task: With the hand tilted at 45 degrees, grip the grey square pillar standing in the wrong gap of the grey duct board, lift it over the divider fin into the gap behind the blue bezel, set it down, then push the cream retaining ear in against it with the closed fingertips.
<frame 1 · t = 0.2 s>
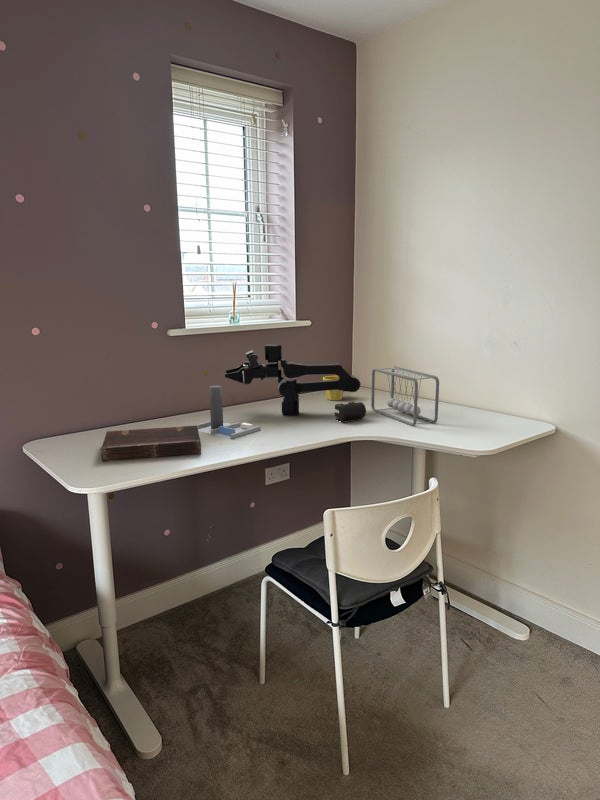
hand: (225, 373, 222), 17 cm above the table, tool horizontal, fingers open, 9 cm apart
duct board: (226, 431, 202), on the table
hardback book: (153, 451, 182), on the table
black cylinder: (349, 421, 217), on the table
newton's cradle: (402, 417, 221), on the table
plant pot: (334, 399, 255), on the table
grey square pillar: (217, 427, 205), point 1 cm above the table, touching duct board
ear clip: (246, 425, 203), point 2 cm above the table, slide at 0.0 cm
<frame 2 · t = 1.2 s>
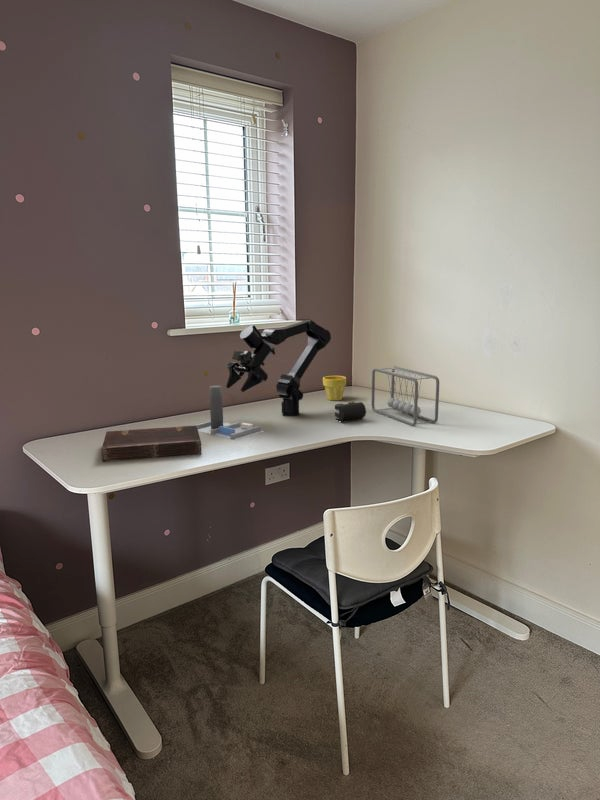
hand: (234, 389, 207), 14 cm above the table, tool tilted 45°, fingers open, 9 cm apart
nothing on the table moved.
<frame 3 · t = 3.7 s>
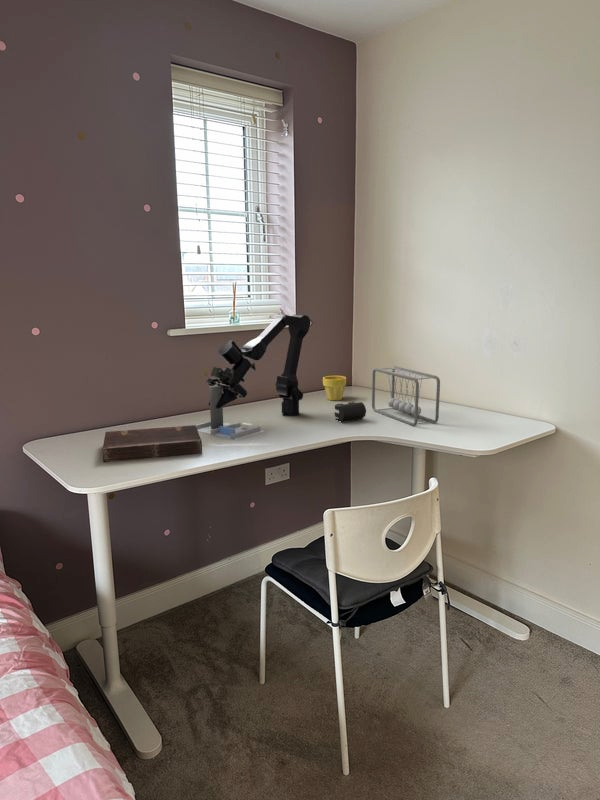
hand: (213, 406, 202), 9 cm above the table, tool tilted 45°, fingers closed on grey square pillar, 4 cm apart
grey square pillar: (217, 427, 205), point 1 cm above the table, touching duct board, gripper
everything else where it was.
when the fingers open (10 cm above the table, at t = 6.8 s): grey square pillar drops 2 cm, resting on duct board.
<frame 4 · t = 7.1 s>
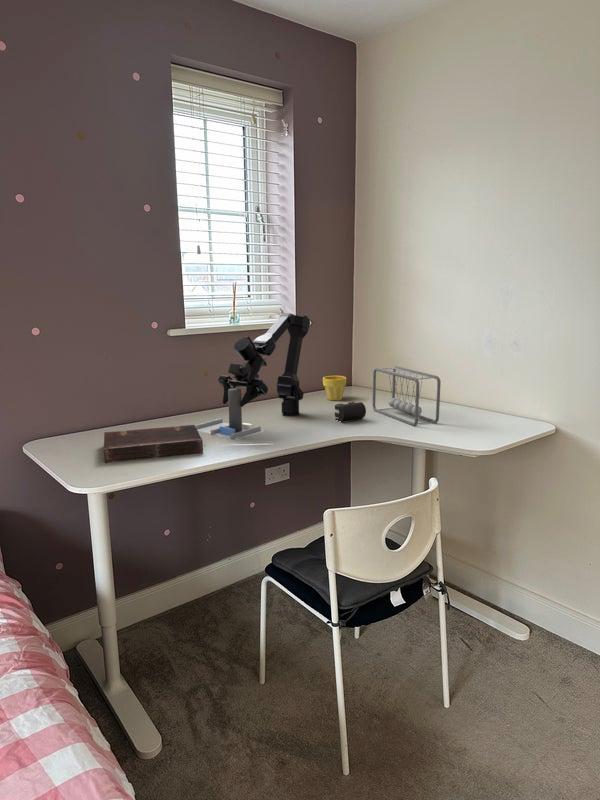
hand: (232, 404, 196), 11 cm above the table, tool tilted 45°, fingers open, 7 cm apart
grey square pillar: (235, 431, 199), point 1 cm above the table, touching duct board
everything else where it was.
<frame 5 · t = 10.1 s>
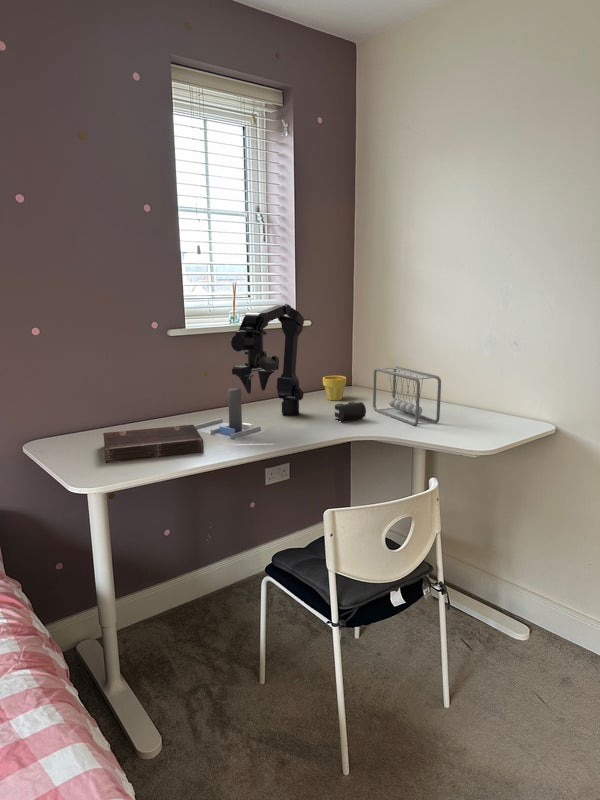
hand: (256, 391, 205), 13 cm above the table, tool pointing down, fingers open, 7 cm apart
nothing on the table moved.
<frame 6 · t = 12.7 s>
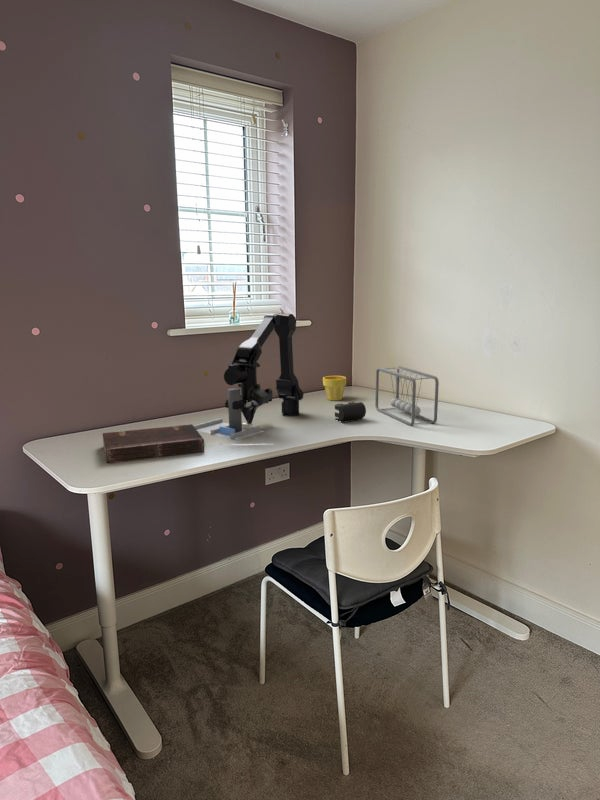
hand: (249, 423, 205), 2 cm above the table, tool pointing down, fingers closed
grey square pillar: (235, 431, 199), point 1 cm above the table, touching duct board, gripper
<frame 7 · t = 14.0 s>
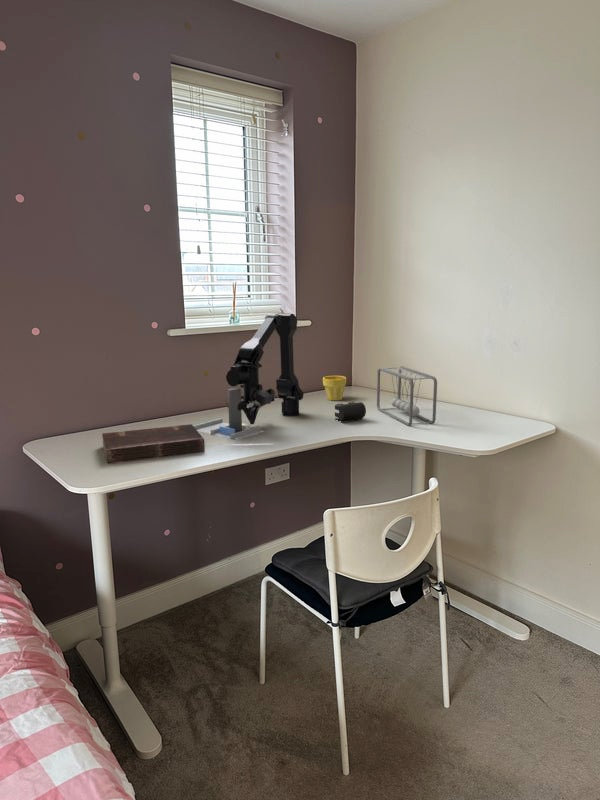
hand: (252, 424, 206), 2 cm above the table, tool pointing down, fingers closed
grey square pillar: (235, 431, 199), point 1 cm above the table, touching duct board
ear clip: (244, 426, 202), point 2 cm above the table, slide at 1.3 cm
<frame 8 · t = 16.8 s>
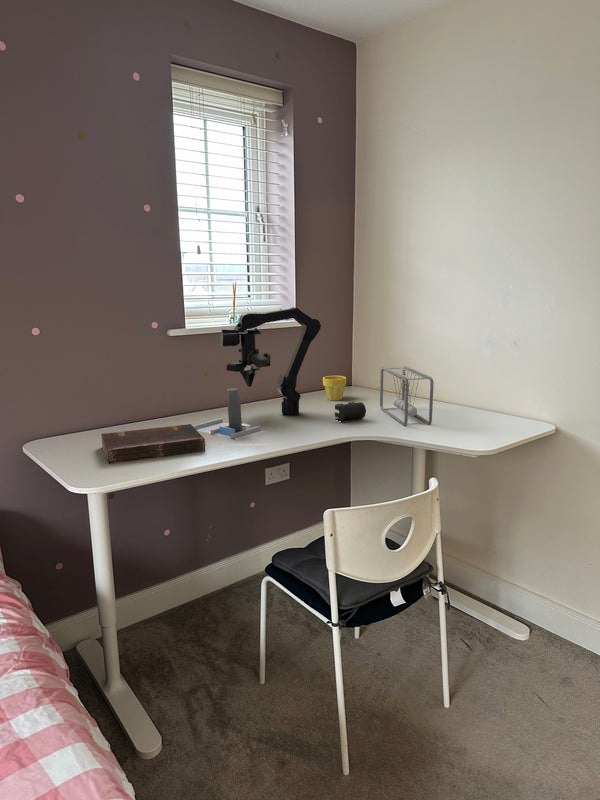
hand: (249, 386, 220), 12 cm above the table, tool pointing down, fingers closed
at the end: grey square pillar 0.1 cm from the target spot, point 0.7 cm above the table; grey square pillar tilted 2°; ear clip slide at 1.3 cm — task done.
